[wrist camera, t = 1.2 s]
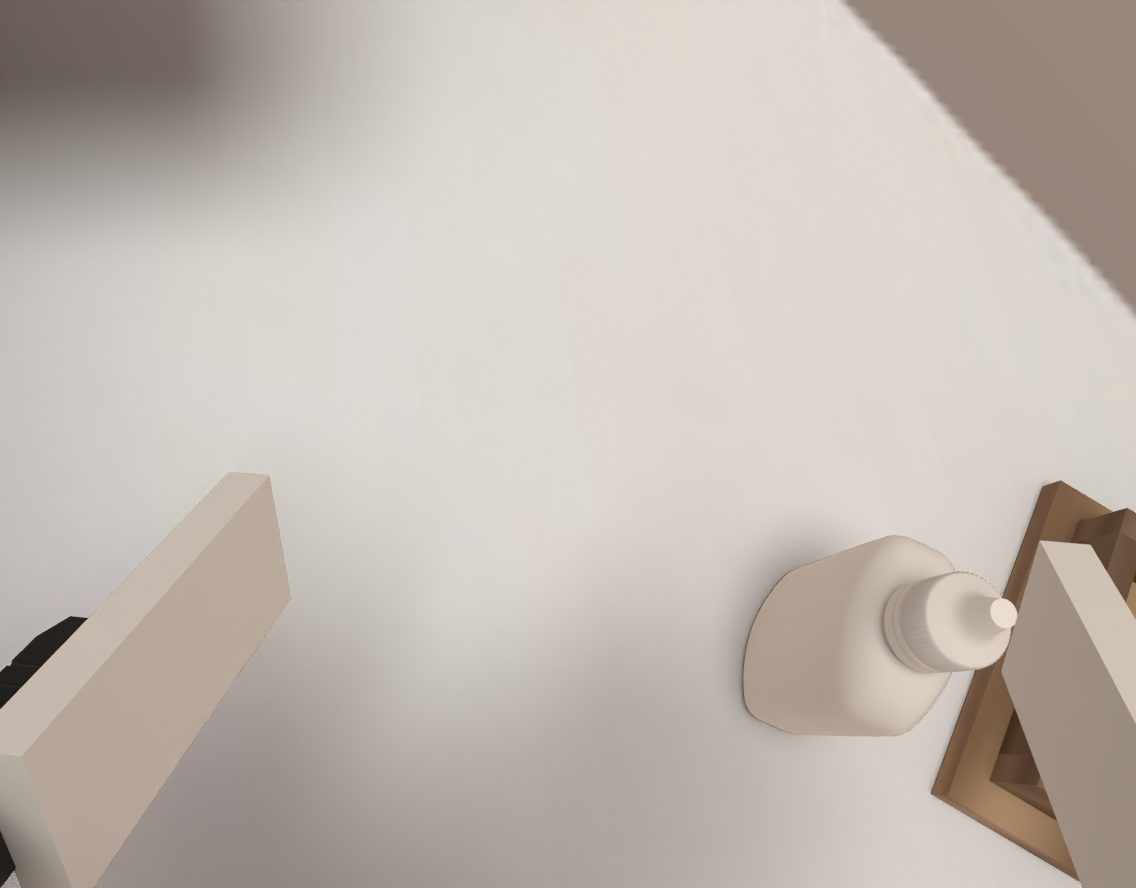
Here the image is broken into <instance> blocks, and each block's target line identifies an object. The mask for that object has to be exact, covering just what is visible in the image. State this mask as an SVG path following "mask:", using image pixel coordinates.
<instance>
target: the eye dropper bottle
mask: <svg viewBox="0 0 1136 888" xmlns="http://www.w3.org/2000/svg"><path fill="white" fill-rule="evenodd" d="M1016 619H1017V611H1016V608H1015V606H1014V605H1013V604H1012V603H1011V602H1010V601H1009V600H1007V599H1003V598H1002V597H1001V595H1000V594H999V593H998V591H997V590H996V589H995V588H994V586H992V585H991V584H990V583H988V582H987V581H986V580H984V579H983V578H982V577H979V576H978V575H974V574H973V573H971V574H970V573H968V572H966V573H965V572H959V571H957V572H955V569H954V567H953V565H952V563H951V561H950V560H949V559H948V558H947V557H946V556H945V555H944V554H942V553H941V552H939V551H937V550H935V549H933V548H931V547H929V546H927V545H925V544H923V543H920V542H918V541H916V540H913V539H911V538H908V537H904V536H896V535H893V536H887V537H884V538H880V539H877V540H874V541H871V542H868V543H865V544H862V545H860V546H857V547H854V548H851V549H848V550H846V551H843V552H840V553H837V554H835V555H832V556H829V557H827V558H824V559H821V560H818V561H816V562H813V563H810V564H808V565H805V566H802V567H800V568H797V569H795V570H793V571H791V572H789V573H788V574H787V575H786V576H785V577H784V578H782V579H781V581H780V582H779V583H778V584H777V585H776V586H775V588H774V589H773V590H772V592H771V593H770V594H769V596H768V597H767V599H766V600H765V602H764V603H763V605H762V607H761V609H760V611H759V613H758V615H757V617H756V619H755V621H754V624H753V626H752V629H751V632H750V636H749V639H748V643H747V648H746V653H745V661H744V673H743V685H744V698H745V703H746V706H747V708H748V710H749V712H750V713H751V714H752V715H754V716H755V717H756V718H757V719H759V720H761V721H763V722H765V723H768V724H770V725H772V726H774V727H777V728H779V729H781V730H784V731H786V732H789V733H792V734H803V735H832V736H872V737H882V736H898V735H902V734H904V733H906V732H908V731H910V730H911V729H912V728H913V727H914V726H915V725H916V724H918V723H919V722H920V720H921V719H922V718H923V717H924V716H925V715H926V714H927V713H928V711H929V710H930V709H931V707H932V706H933V705H934V703H935V702H936V700H937V699H938V697H939V696H940V694H941V693H942V691H943V689H944V688H945V686H946V684H947V682H948V680H949V678H950V676H951V674H952V672H957V671H968V670H978V669H982V668H985V667H989V666H990V665H993V663H994V662H997V660H998V659H1000V657H1001V656H1002V655H1003V653H1004V652H1005V650H1006V648H1007V646H1008V643H1009V639H1010V634H1011V627H1012V626H1014V625H1015V623H1016Z"/></svg>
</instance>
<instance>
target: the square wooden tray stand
mask: <svg viewBox="0 0 1136 888" xmlns="http://www.w3.org/2000/svg"><path fill="white" fill-rule="evenodd" d="M1040 540H1041V541H1053V542H1064V543H1076V544H1088V545H1091V546H1092V548H1093V550H1094V551H1095V553H1096V555H1097V556H1098V558H1099V560H1100V561H1101V563H1102V565H1103V566H1104V568H1105V569H1106V571H1107V573H1108V574H1109V576H1110V578H1111V579H1112V581H1113V583H1114V584H1115V586H1116V588H1117V589H1118V591H1119V593H1120V594H1121V596H1122V598H1123V599H1124V601H1125V603H1126V604H1127V606H1128V607H1129V609H1130V611H1131V612H1132V614H1133V616H1134V617H1135V619H1136V513H1135V512H1133V511H1131V510H1130V509H1128V508H1126V509H1122V510H1119V511H1115V512H1113V511H1111V510H1109V509H1107V508H1106V507H1104V506H1102V505H1101V504H1099V503H1097V502H1096V501H1094V500H1092V499H1091V498H1089V497H1087V496H1086V495H1084V494H1082V493H1081V492H1079V491H1077V490H1076V489H1074V488H1072V487H1071V486H1069V485H1067V484H1066V483H1064V482H1062V481H1061V480H1060V481H1057V482H1055V483H1052V484H1049V485H1046V486H1043V489H1042V491H1041V494H1040V497H1039V500H1038V502H1037V505H1036V508H1035V510H1034V513H1033V516H1032V519H1031V521H1030V524H1029V527H1028V530H1027V532H1026V535H1025V538H1024V541H1023V543H1022V546H1021V549H1020V552H1019V554H1018V557H1017V560H1016V563H1015V565H1014V568H1013V571H1012V574H1011V576H1010V579H1009V582H1008V585H1007V587H1006V590H1005V593H1004V596H1003V599H1007V600H1009V601H1010V602H1011V603H1012V604H1013V605H1014V606H1015V608H1016V611H1017V616H1018V613H1019V609H1020V606H1021V602H1022V599H1023V596H1024V592H1025V589H1026V585H1027V582H1028V579H1029V575H1030V572H1031V568H1032V565H1033V562H1034V558H1035V555H1036V551H1037V548H1038V545H1039V541H1040ZM1014 626H1015V625H1014ZM1014 626H1012V627H1011V634H1010V639H1009V643H1010V640H1011V636H1012V633H1013V630H1014ZM1009 643H1008V646H1007V648H1006V650H1005V652H1004V653H1003V655H1002V656H1001V657H1000V659H998V660H997V662H994V663H993V665H990V666H989V667H985V668H982V669H978V670H976V672H975V675H974V678H973V681H972V683H971V686H970V689H969V692H968V694H967V697H966V700H965V703H964V705H963V708H962V711H961V714H960V716H959V719H958V722H957V725H956V727H955V730H954V733H953V736H952V738H951V741H950V744H949V747H948V749H947V752H946V755H945V758H944V760H943V763H942V766H941V769H940V771H939V774H938V777H937V780H936V782H935V785H934V788H933V791H932V793H931V794H932V795H934V796H936V797H938V798H939V799H941V800H943V801H944V802H946V803H948V804H949V805H951V806H953V807H954V808H956V809H958V810H960V811H961V812H963V813H965V814H966V815H968V816H970V817H971V818H973V819H975V820H976V821H978V822H980V823H982V824H983V825H985V826H987V827H988V828H990V829H992V830H993V831H995V832H997V833H998V834H1000V835H1002V836H1004V837H1005V838H1007V839H1009V840H1010V841H1012V842H1014V843H1015V844H1017V845H1019V846H1020V847H1022V848H1024V849H1026V850H1027V851H1029V852H1031V853H1032V854H1034V855H1036V856H1037V857H1039V858H1041V859H1042V860H1044V861H1046V862H1048V863H1049V864H1051V865H1053V866H1054V867H1056V868H1058V869H1059V870H1061V871H1063V872H1064V873H1066V874H1068V875H1070V876H1071V877H1073V878H1075V879H1076V880H1078V881H1080V880H1079V878H1078V875H1077V872H1076V870H1075V867H1074V864H1073V862H1072V859H1071V856H1070V854H1069V851H1068V848H1067V846H1066V843H1065V840H1064V838H1063V835H1062V832H1061V830H1060V827H1059V824H1058V822H1057V819H1056V816H1055V814H1054V811H1053V808H1052V806H1051V803H1050V800H1049V798H1048V795H1047V792H1046V790H1045V787H1044V784H1043V782H1042V779H1041V776H1040V774H1039V771H1038V768H1037V766H1036V763H1035V760H1034V758H1033V755H1032V752H1031V750H1030V747H1029V744H1028V742H1027V739H1026V736H1025V734H1024V731H1023V728H1022V726H1021V723H1020V720H1019V718H1018V715H1017V712H1016V710H1015V707H1014V704H1013V702H1012V699H1011V696H1010V694H1009V691H1008V688H1007V686H1006V683H1005V680H1004V678H1003V675H1002V672H1001V670H1002V667H1003V664H1004V660H1005V657H1006V653H1007V650H1008V647H1009Z"/></svg>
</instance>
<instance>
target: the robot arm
mask: <svg viewBox="0 0 1136 888" xmlns="http://www.w3.org/2000/svg"><path fill="white" fill-rule="evenodd" d="M289 600H290V592H289V586H288V581H287V575H286V569H285V563H284V558H283V552H282V546H281V540H280V535H279V529H278V523H277V518H276V512H275V506H274V500H273V495H272V489H271V483H270V478H269V475H258V474H247V473H235V472H229V473H228V474H227V475H226V476H225V477H224V478H223V479H222V480H221V481H220V482H219V483H218V484H217V485H216V486H215V487H214V488H213V489H212V490H211V491H210V492H209V494H208V495H207V496H206V497H205V498H204V499H203V500H202V501H201V502H200V503H199V504H198V505H197V506H196V507H195V508H194V509H193V510H192V511H191V512H190V513H189V514H188V515H187V516H186V517H185V518H184V519H183V520H182V522H181V523H180V524H179V525H178V526H177V527H176V528H175V529H174V530H173V531H172V532H171V533H170V534H169V535H168V536H167V537H166V538H165V539H164V540H163V541H162V542H161V543H160V544H159V545H158V546H157V547H156V548H155V550H154V551H153V552H152V553H151V554H150V555H149V556H148V557H147V558H146V559H145V560H144V561H143V562H142V563H141V564H140V565H139V566H138V567H137V568H136V569H135V570H134V571H133V572H132V573H131V574H130V575H129V576H128V578H127V579H126V580H125V581H124V582H123V583H122V584H121V585H120V586H119V587H118V588H117V589H116V590H115V591H114V592H113V593H112V594H111V595H110V596H109V597H108V598H107V599H106V600H105V601H104V602H103V603H102V604H101V606H100V607H99V608H98V609H97V610H96V611H95V612H94V613H93V614H92V615H91V616H90V617H89V618H81V617H72V616H70V617H68V618H67V619H65V620H63V621H62V622H60V623H58V624H57V625H55V626H53V627H52V628H50V629H48V630H47V631H45V632H43V633H41V634H40V635H38V636H36V637H35V638H34V639H33V640H32V641H31V642H30V643H29V644H28V645H27V646H26V647H25V648H24V649H23V650H22V651H21V652H20V653H19V654H18V655H17V656H16V657H15V658H14V659H13V660H12V664H11V666H6V667H5V668H4V669H3V670H2V671H1V672H0V888H1V886H2V885H3V884H4V883H5V881H6V880H7V879H8V877H9V876H10V875H11V874H12V872H13V871H15V873H16V875H17V878H18V880H19V882H20V885H21V887H22V888H94V886H95V885H96V883H97V882H98V880H99V879H100V877H101V876H102V874H103V873H104V871H105V870H106V868H107V867H108V865H109V864H110V863H111V861H112V860H113V858H114V857H115V855H116V854H117V852H118V851H119V849H120V848H121V846H122V845H123V843H124V842H125V841H126V839H127V838H128V836H129V835H130V833H131V832H132V830H133V829H134V827H135V826H136V824H137V823H138V821H139V820H140V819H141V817H142V816H143V814H144V813H145V811H146V810H147V808H148V807H149V805H150V804H151V802H152V801H153V799H154V798H155V796H156V795H157V794H158V792H159V791H160V789H161V788H162V786H163V785H164V783H165V782H166V780H167V779H168V777H169V776H170V774H171V773H172V772H173V770H174V769H175V767H176V766H177V764H178V763H179V761H180V760H181V758H182V757H183V755H184V754H185V752H186V751H187V750H188V748H189V747H190V745H191V744H192V742H193V741H194V739H195V738H196V736H197V735H198V733H199V732H200V730H201V729H202V728H203V726H204V725H205V723H206V722H207V720H208V719H209V717H210V716H211V714H212V713H213V711H214V710H215V708H216V707H217V705H218V704H219V703H220V701H221V700H222V698H223V697H224V695H225V694H226V692H227V691H228V689H229V688H230V686H231V685H232V683H233V682H234V681H235V679H236V678H237V676H238V675H239V673H240V672H241V670H242V669H243V667H244V666H245V664H246V663H247V661H248V660H249V659H250V657H251V656H252V654H253V653H254V651H255V650H256V648H257V647H258V645H259V644H260V642H261V641H262V639H263V638H264V637H265V635H266V634H267V632H268V631H269V629H270V628H271V626H272V625H273V623H274V622H275V620H276V619H277V617H278V616H279V614H280V613H281V612H282V610H283V609H284V607H285V606H286V604H287V603H288V601H289ZM1001 672H1002V675H1003V678H1004V680H1005V683H1006V686H1007V688H1008V691H1009V694H1010V696H1011V699H1012V702H1013V704H1014V707H1015V710H1016V712H1017V715H1018V718H1019V720H1020V723H1021V726H1022V728H1023V731H1024V734H1025V736H1026V739H1027V742H1028V744H1029V747H1030V750H1031V752H1032V755H1033V758H1034V760H1035V763H1036V766H1037V768H1038V771H1039V774H1040V776H1041V779H1042V782H1043V784H1044V787H1045V790H1046V792H1047V795H1048V798H1049V800H1050V803H1051V806H1052V808H1053V811H1054V814H1055V816H1056V819H1057V822H1058V824H1059V827H1060V830H1061V832H1062V835H1063V838H1064V840H1065V843H1066V846H1067V848H1068V851H1069V854H1070V856H1071V859H1072V862H1073V864H1074V867H1075V870H1076V872H1077V875H1078V878H1079V880H1080V883H1081V886H1082V888H1136V619H1135V617H1134V616H1133V614H1132V612H1131V611H1130V609H1129V607H1128V606H1127V604H1126V603H1125V601H1124V599H1123V598H1122V596H1121V594H1120V593H1119V591H1118V589H1117V588H1116V586H1115V584H1114V583H1113V581H1112V579H1111V578H1110V576H1109V574H1108V573H1107V571H1106V569H1105V568H1104V566H1103V565H1102V563H1101V561H1100V560H1099V558H1098V556H1097V555H1096V553H1095V551H1094V550H1093V548H1092V546H1091V545H1088V544H1076V543H1064V542H1053V541H1041V540H1040V541H1039V545H1038V548H1037V551H1036V555H1035V558H1034V562H1033V565H1032V568H1031V572H1030V575H1029V579H1028V582H1027V585H1026V589H1025V592H1024V596H1023V599H1022V602H1021V606H1020V609H1019V613H1018V616H1017V619H1016V623H1015V626H1014V630H1013V633H1012V636H1011V640H1010V643H1009V647H1008V650H1007V653H1006V657H1005V660H1004V664H1003V667H1002V670H1001Z"/></svg>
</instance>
